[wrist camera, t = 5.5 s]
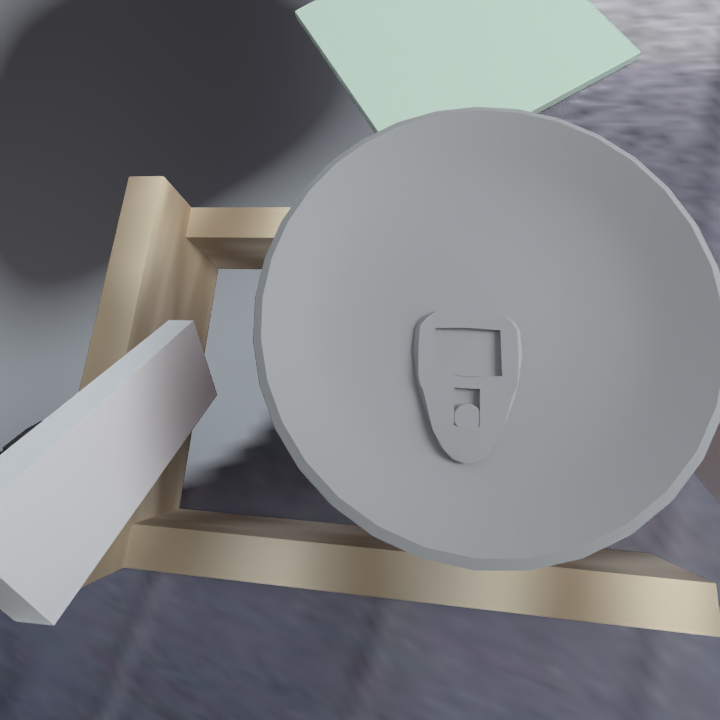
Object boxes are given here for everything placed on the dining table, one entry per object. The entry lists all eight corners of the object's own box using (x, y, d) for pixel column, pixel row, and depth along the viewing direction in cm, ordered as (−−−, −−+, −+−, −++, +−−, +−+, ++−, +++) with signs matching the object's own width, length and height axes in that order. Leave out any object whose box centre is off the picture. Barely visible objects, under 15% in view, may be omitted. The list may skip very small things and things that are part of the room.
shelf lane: (619, 245, 17) (709, 168, 12) (653, 595, 14) (794, 680, 9) (196, 242, 19) (129, 176, 14) (142, 540, 16) (33, 584, 11)
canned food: (359, 497, 16) (282, 625, 5) (328, 329, 17) (222, 157, 7) (532, 463, 15) (855, 521, 5) (481, 294, 17) (626, 54, 6)
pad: (636, 60, 19) (641, 52, 19) (409, 182, 19) (409, 176, 18) (491, -84, 22) (493, -93, 22) (296, 18, 22) (294, 11, 22)
